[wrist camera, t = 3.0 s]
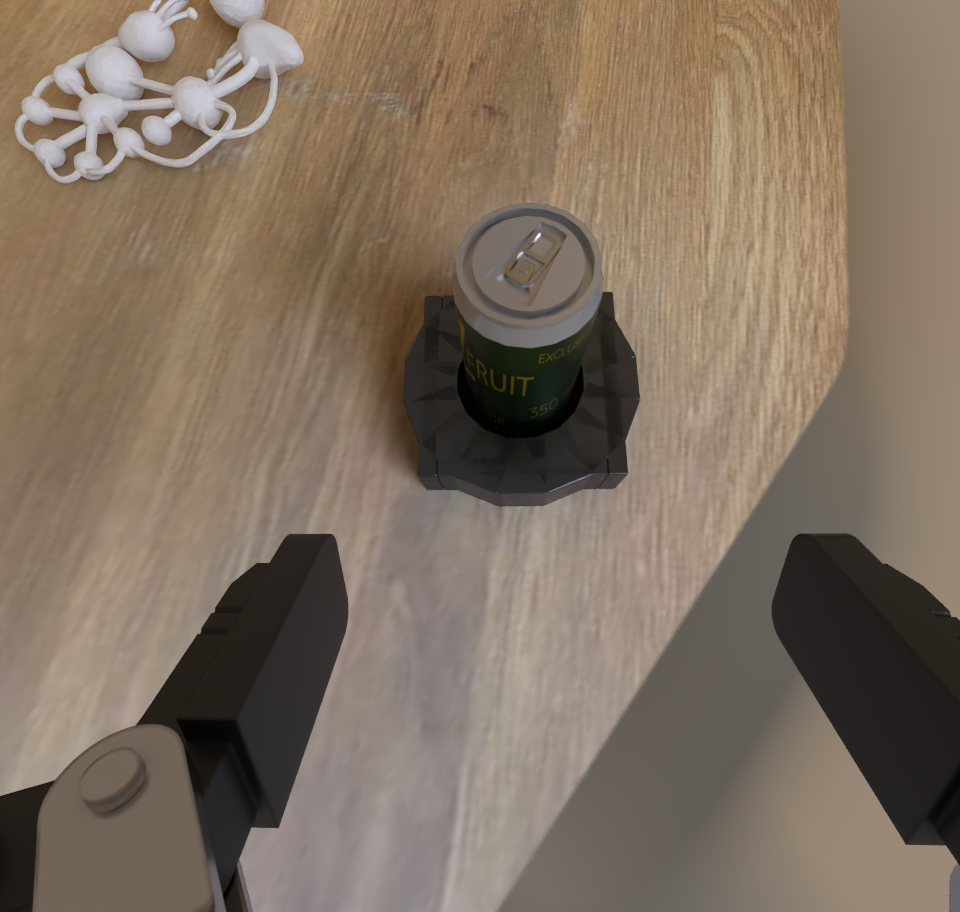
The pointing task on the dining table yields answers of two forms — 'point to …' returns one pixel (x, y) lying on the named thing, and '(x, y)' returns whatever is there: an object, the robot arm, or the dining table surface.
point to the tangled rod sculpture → (156, 88)
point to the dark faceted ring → (520, 461)
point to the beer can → (525, 314)
